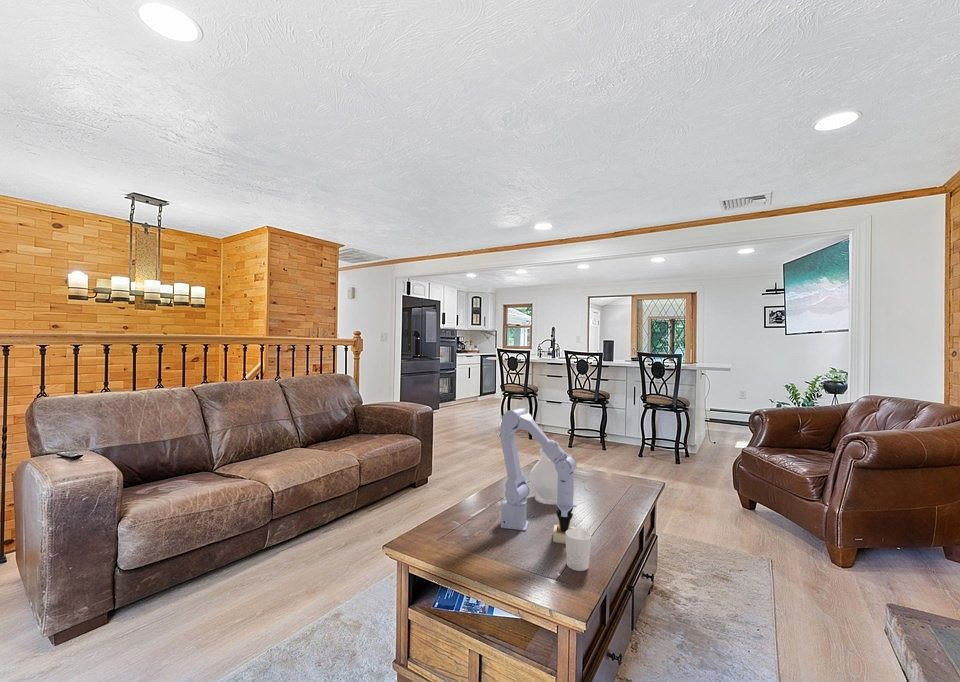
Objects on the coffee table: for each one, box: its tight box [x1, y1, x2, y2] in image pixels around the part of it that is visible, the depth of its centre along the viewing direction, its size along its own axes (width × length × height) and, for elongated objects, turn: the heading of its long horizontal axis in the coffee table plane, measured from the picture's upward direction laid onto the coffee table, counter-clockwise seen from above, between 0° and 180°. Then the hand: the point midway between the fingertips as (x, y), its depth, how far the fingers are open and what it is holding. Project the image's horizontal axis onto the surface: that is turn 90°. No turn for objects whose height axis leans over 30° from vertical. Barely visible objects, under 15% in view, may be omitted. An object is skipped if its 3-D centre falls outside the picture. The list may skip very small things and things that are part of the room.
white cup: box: [565, 527, 592, 572], centre depth 135 cm, size 8×8×10 cm
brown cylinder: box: [557, 521, 571, 534], centre depth 153 cm, size 4×4×7 cm
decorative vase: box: [528, 447, 558, 506], centre depth 190 cm, size 18×18×25 cm
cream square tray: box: [552, 524, 576, 545], centre depth 153 cm, size 8×8×3 cm
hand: (564, 529), depth 153 cm, fingers closed on brown cylinder, 4 cm apart
